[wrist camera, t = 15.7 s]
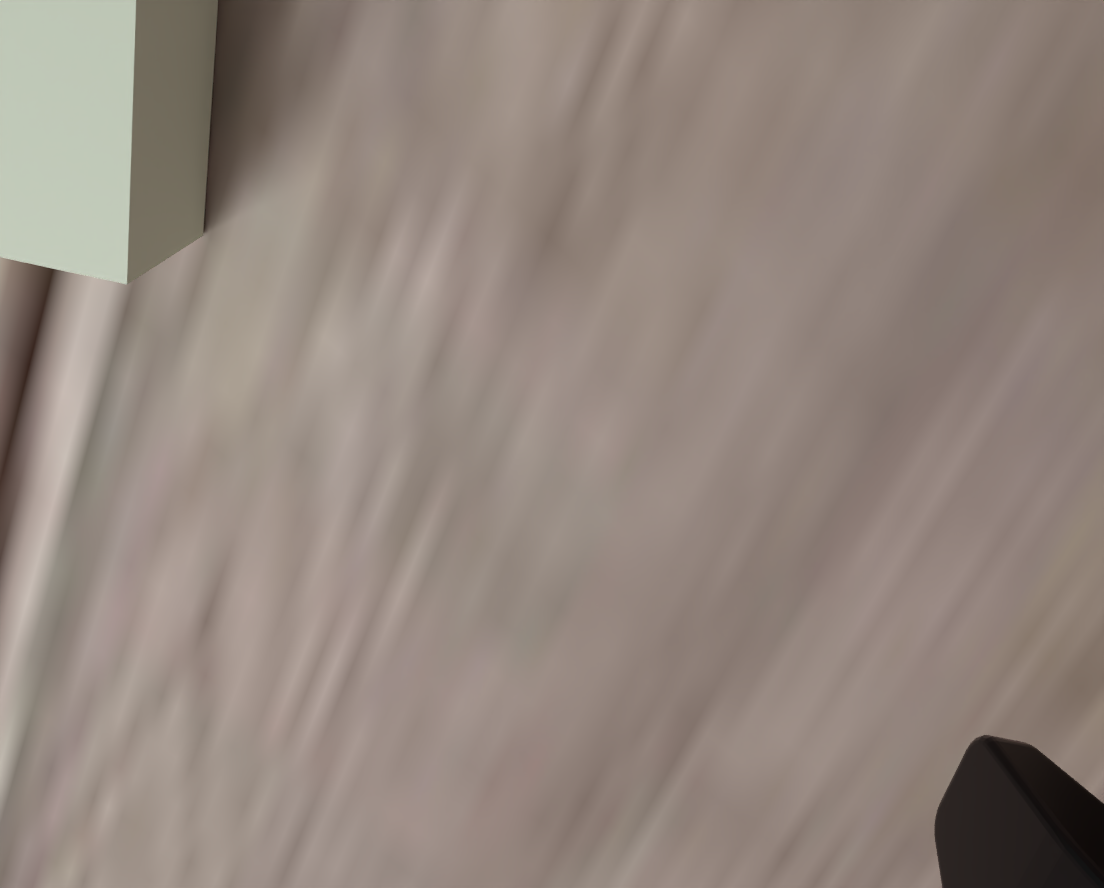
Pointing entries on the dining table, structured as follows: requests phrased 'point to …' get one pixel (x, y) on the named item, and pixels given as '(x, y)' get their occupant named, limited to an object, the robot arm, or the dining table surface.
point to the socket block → (104, 131)
